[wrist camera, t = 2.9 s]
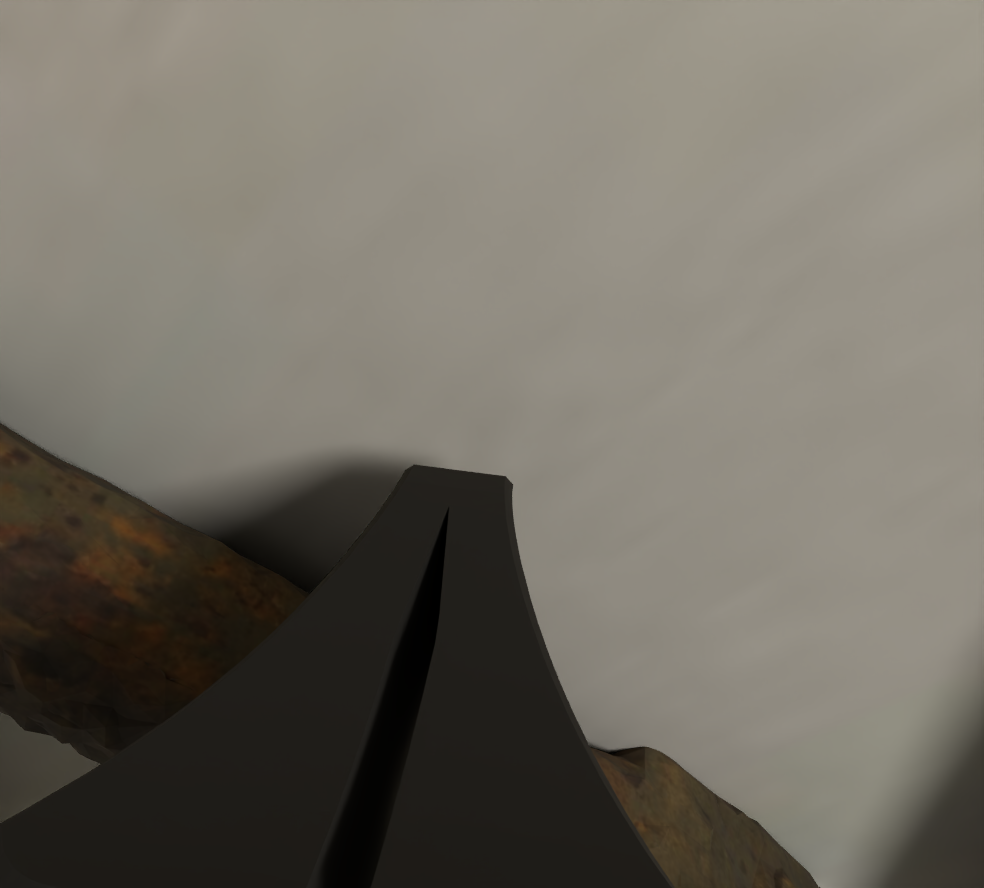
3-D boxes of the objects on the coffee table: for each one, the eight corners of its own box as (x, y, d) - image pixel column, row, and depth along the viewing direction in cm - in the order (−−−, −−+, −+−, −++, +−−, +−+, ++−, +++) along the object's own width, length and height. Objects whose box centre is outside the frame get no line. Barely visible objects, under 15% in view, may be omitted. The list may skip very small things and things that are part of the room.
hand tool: (-113, 474, 16) (-339, 704, 12) (-41, 310, 13) (-291, 530, 10) (720, 914, 21) (741, 1165, 17) (865, 848, 19) (923, 1118, 15)
